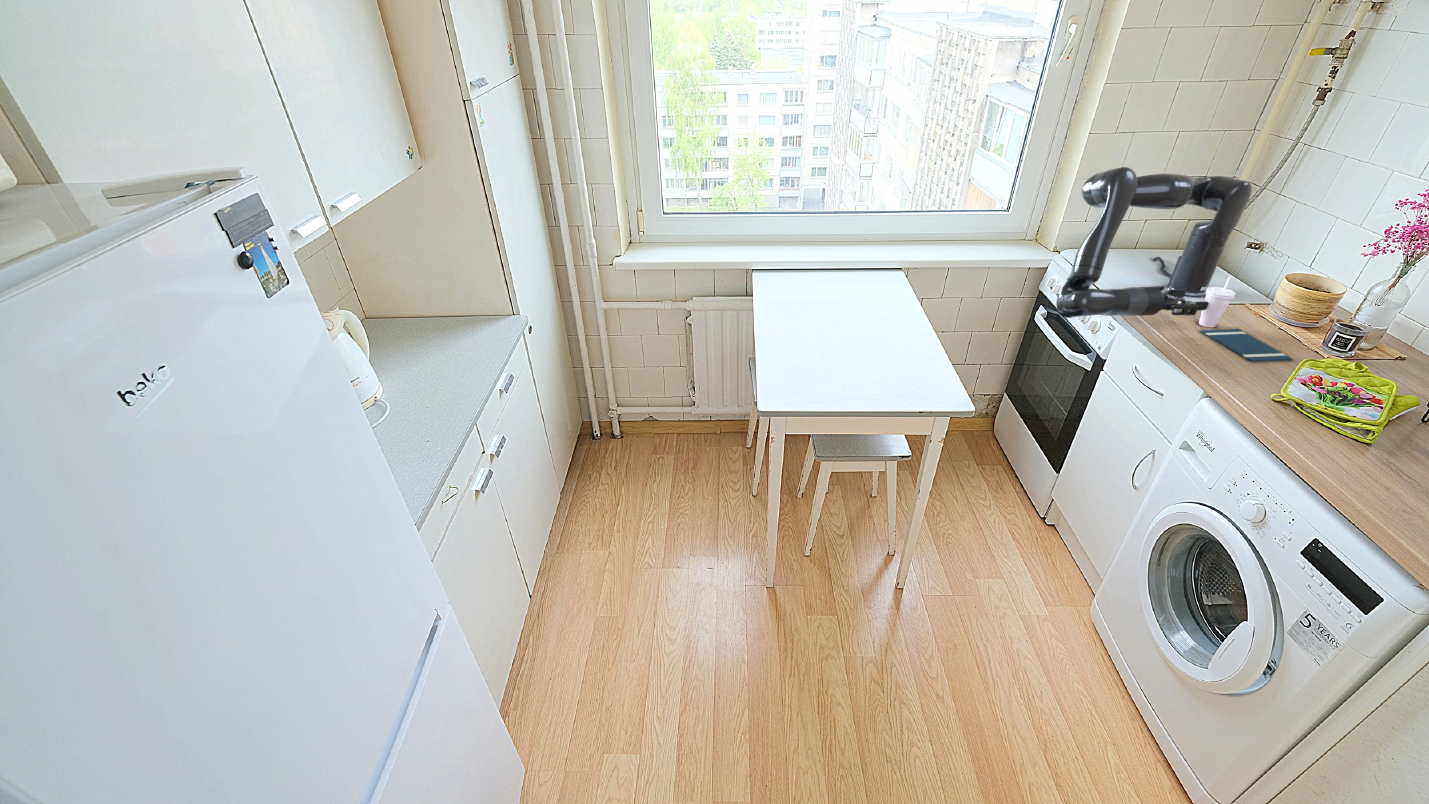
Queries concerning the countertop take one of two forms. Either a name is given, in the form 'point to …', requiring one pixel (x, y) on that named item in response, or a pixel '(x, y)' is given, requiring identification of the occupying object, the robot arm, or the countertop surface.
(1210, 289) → the smoothie
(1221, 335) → the tea towel
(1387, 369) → the countertop surface
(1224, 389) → the countertop surface
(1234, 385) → the countertop surface
